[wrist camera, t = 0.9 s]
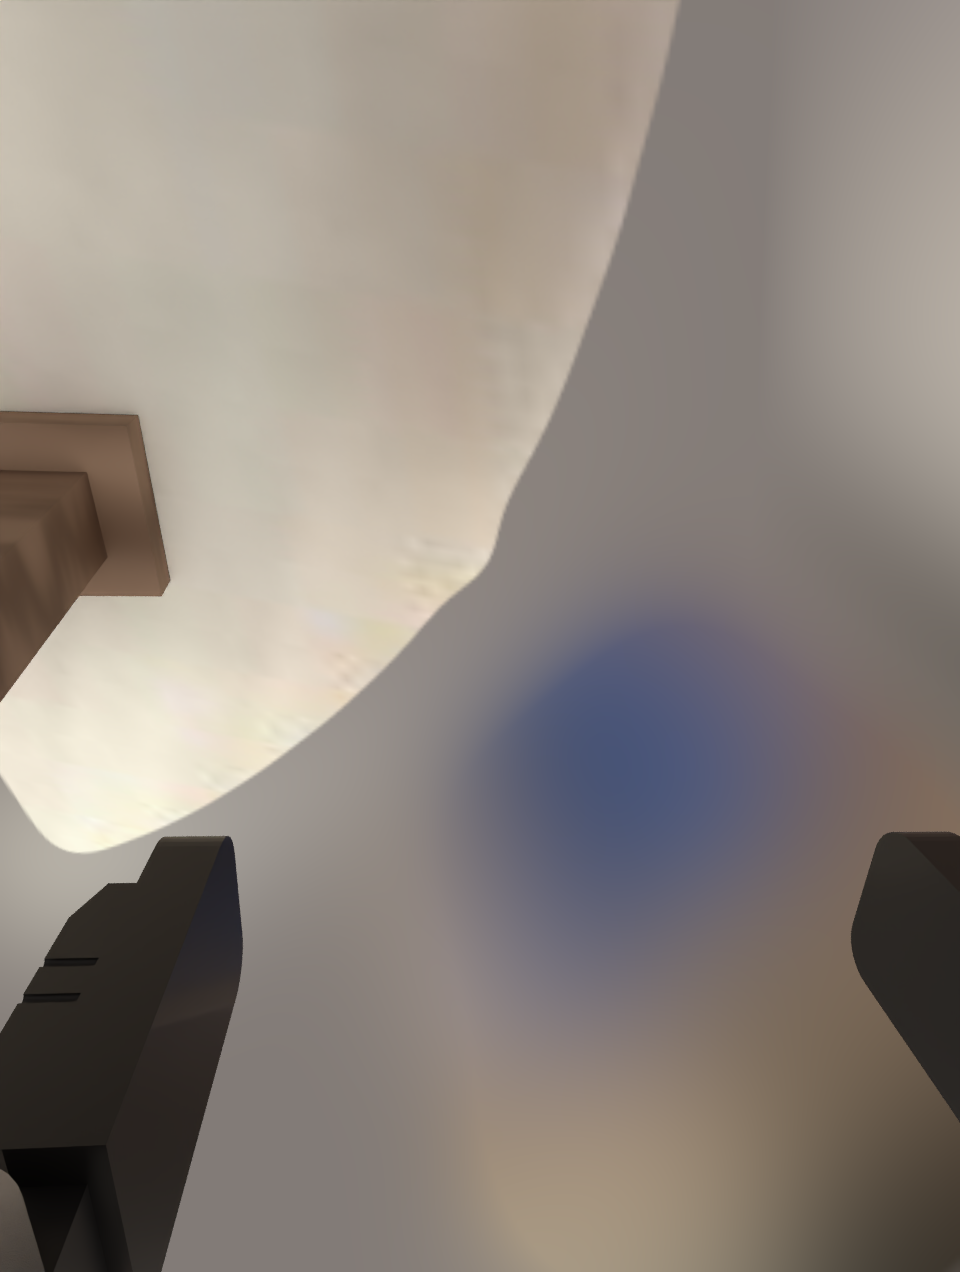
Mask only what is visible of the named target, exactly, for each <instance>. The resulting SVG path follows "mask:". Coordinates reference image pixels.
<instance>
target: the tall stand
mask: <svg viewBox="0 0 960 1272" xmlns="http://www.w3.org/2000/svg"><path fill="white" fill-rule="evenodd" d="M169 582H170V577H169V572H168V567H167V562H166V557H165V552H164V547H163V541H162V536H161V531H160V526H159V521H158V516H157V511H156V505H155V500H154V495H153V490H152V485H151V480H150V475H149V469H148V464H147V459H146V454H145V449H144V444H143V439H142V433H141V428H140V423H139V418H138V415H109V414H75V413H41V412H7V411H0V702H1V701H2V699H3V698H4V697H5V695H6V694H7V693H8V691H9V690H10V689H11V687H12V686H13V685H14V683H15V682H16V680H17V679H18V678H19V676H20V675H21V674H22V672H23V671H24V670H25V668H26V667H27V666H28V664H29V663H30V662H31V660H32V659H33V657H34V656H35V655H36V653H37V652H38V651H39V649H40V648H41V647H42V645H43V644H44V643H45V641H46V640H47V639H48V637H49V636H50V634H51V633H52V632H53V630H54V629H55V628H56V626H57V625H58V624H59V622H60V621H61V620H62V618H63V617H64V616H65V614H66V613H67V611H68V610H69V609H70V607H71V606H72V605H73V603H74V602H75V601H76V599H77V598H78V597H79V596H162V595H163V593H164V591H165V589H166V587H167V586H168V584H169Z"/></svg>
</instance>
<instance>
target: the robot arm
mask: <svg viewBox="0 0 960 1272" xmlns="http://www.w3.org/2000/svg"><path fill="white" fill-rule="evenodd" d="M240 916H241V915H240V905H239V894H238V883H237V874H236V863H235V853H234V846H233V842H232V840H231V838H230V837H229V836H186V837H163V838H161V839H160V840H159V842H158V843H157V845H156V846H155V849H154V850H153V852H152V854H151V856H150V858H149V860H148V862H147V864H146V866H145V868H144V870H143V872H142V874H141V876H140V878H139V880H138V882H137V883H113V884H112V883H111V884H110V883H108V884H107V885H106V886H105V887H104V888H103V889H102V890H100V891H99V892H98V893H97V894H96V895H95V896H93V897H92V898H91V899H90V900H89V901H88V902H87V903H85V904H84V905H83V906H82V907H81V908H80V909H78V910H77V911H76V912H75V913H74V914H73V915H71V917H69V918H68V920H67V922H66V923H65V925H64V927H63V928H62V930H61V932H60V934H59V935H58V937H57V939H56V940H55V942H54V944H53V945H52V947H51V949H50V950H49V952H48V954H47V956H46V957H45V962H44V966H43V967H39V969H38V971H37V972H36V974H35V976H34V977H33V979H32V981H31V983H30V984H29V986H28V987H27V989H26V991H25V992H24V998H23V1002H22V1003H20V1004H17V1006H16V1008H15V1009H14V1011H13V1013H12V1014H11V1016H10V1018H9V1020H8V1021H7V1023H6V1024H5V1026H4V1028H3V1030H2V1031H1V1033H0V1272H161V1271H162V1267H163V1263H164V1260H165V1256H166V1252H167V1248H168V1245H169V1241H170V1237H171V1234H172V1230H173V1227H174V1223H175V1219H176V1216H177V1212H178V1208H179V1205H180V1201H181V1197H182V1194H183V1190H184V1186H185V1183H186V1179H187V1175H188V1172H189V1168H190V1164H191V1161H192V1157H193V1153H194V1150H195V1146H196V1142H197V1139H198V1135H199V1131H200V1128H201V1124H202V1121H203V1117H204V1113H205V1109H206V1106H207V1102H208V1099H209V1095H210V1091H211V1088H212V1084H213V1080H214V1077H215V1073H216V1069H217V1066H218V1062H219V1058H220V1055H221V1051H222V1047H223V1044H224V1040H225V1036H226V1033H227V1029H228V1025H229V1021H230V1018H231V1014H232V1010H233V1007H234V1003H235V999H236V996H237V992H238V987H239V982H240V974H241V967H242V954H243V953H242V952H243V938H242V926H241V917H240ZM851 944H852V952H853V957H854V960H855V963H856V966H857V969H858V971H859V973H860V975H861V977H862V979H863V980H864V982H865V984H866V985H867V986H868V988H869V990H870V991H871V992H872V994H873V995H874V997H875V998H876V1000H877V1001H878V1003H879V1004H880V1006H881V1007H882V1009H883V1010H884V1011H885V1013H886V1014H887V1016H888V1017H889V1019H890V1020H891V1022H892V1023H893V1024H894V1026H895V1028H896V1029H897V1031H898V1032H899V1034H900V1035H901V1036H902V1038H903V1039H904V1041H905V1042H906V1044H907V1045H908V1047H909V1048H910V1050H911V1051H912V1052H913V1054H914V1055H915V1057H916V1058H917V1060H918V1061H919V1063H920V1064H921V1066H922V1067H923V1069H924V1070H925V1071H926V1073H927V1075H928V1076H929V1077H930V1079H931V1080H932V1082H933V1083H934V1085H935V1086H936V1087H937V1089H938V1091H939V1092H940V1094H941V1095H942V1097H943V1098H944V1099H945V1101H946V1102H947V1104H948V1105H949V1107H950V1108H951V1110H952V1111H953V1113H954V1114H955V1116H956V1117H957V1118H958V1120H959V1121H960V836H958V835H956V834H954V833H951V832H891V833H887V834H885V835H883V836H882V838H881V839H880V840H879V842H878V843H877V846H876V848H875V852H874V855H873V858H872V862H871V865H870V868H869V872H868V875H867V878H866V882H865V885H864V888H863V891H862V895H861V898H860V901H859V905H858V908H857V911H856V915H855V918H854V921H853V926H852V931H851Z"/></svg>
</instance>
